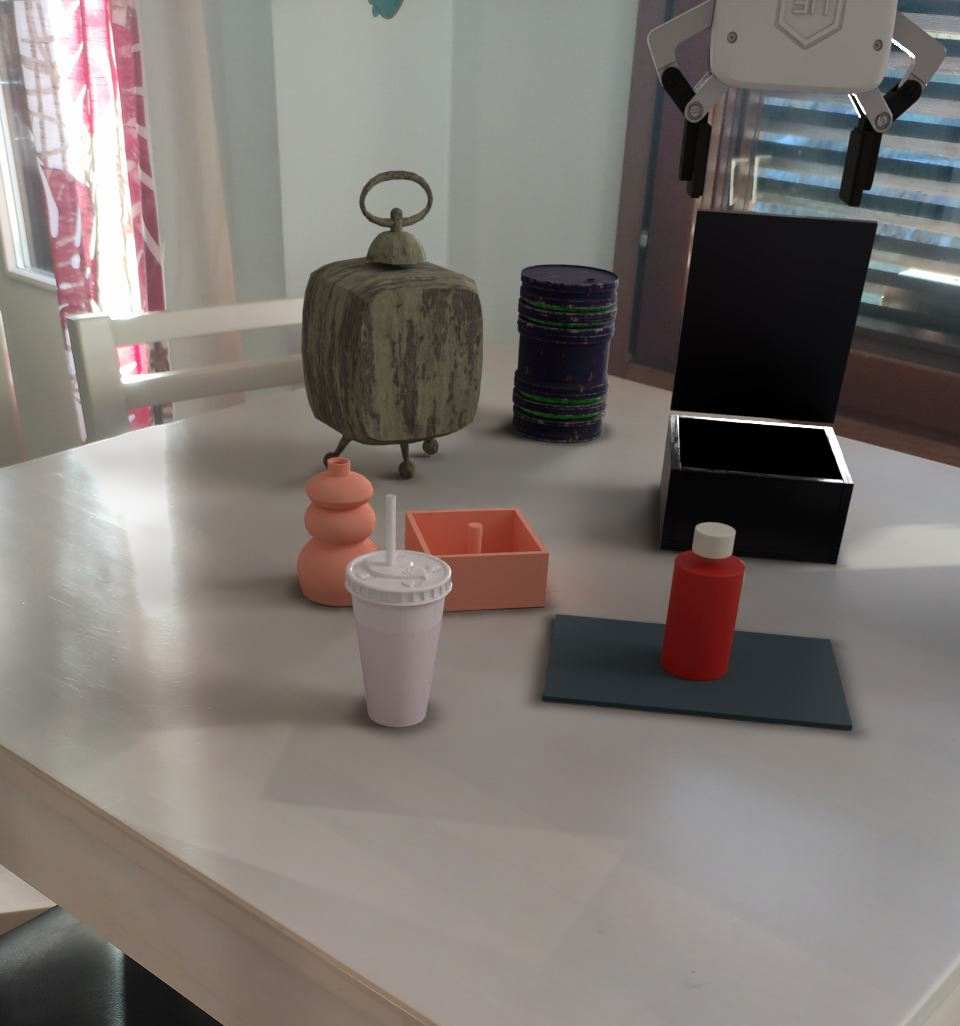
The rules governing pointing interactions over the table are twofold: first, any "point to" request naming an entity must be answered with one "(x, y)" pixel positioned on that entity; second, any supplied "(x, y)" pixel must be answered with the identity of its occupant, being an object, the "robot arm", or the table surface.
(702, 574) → the ketchup
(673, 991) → the table surface
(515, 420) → the dark purple barrel
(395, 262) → the tabletop clock
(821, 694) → the mat
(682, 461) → the box
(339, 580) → the pottery
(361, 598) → the smoothie
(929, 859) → the table surface
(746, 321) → the lid
